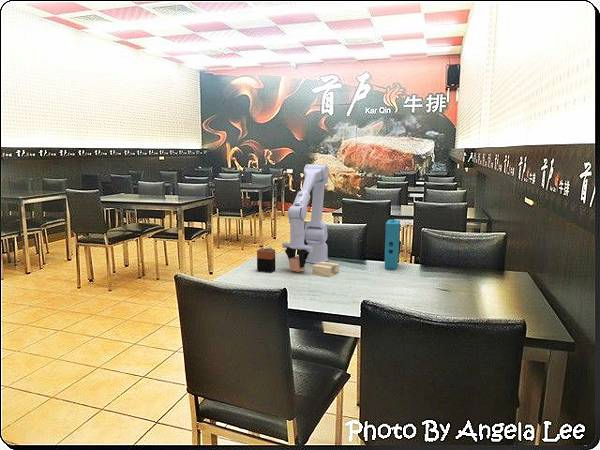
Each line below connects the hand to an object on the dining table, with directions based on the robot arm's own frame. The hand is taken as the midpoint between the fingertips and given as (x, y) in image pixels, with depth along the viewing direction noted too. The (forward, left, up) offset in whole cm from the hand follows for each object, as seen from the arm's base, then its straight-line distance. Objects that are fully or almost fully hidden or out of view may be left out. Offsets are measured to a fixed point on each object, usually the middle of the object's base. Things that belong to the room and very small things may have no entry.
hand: (297, 266), depth 185 cm
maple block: (-5, +11, -3) cm, 12 cm away
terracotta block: (0, 0, -1) cm, 1 cm away
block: (-31, +28, -2) cm, 42 cm away
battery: (+7, -11, -2) cm, 13 cm away
